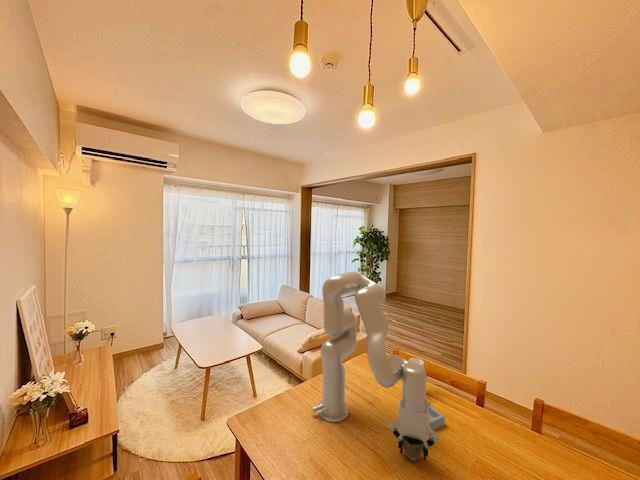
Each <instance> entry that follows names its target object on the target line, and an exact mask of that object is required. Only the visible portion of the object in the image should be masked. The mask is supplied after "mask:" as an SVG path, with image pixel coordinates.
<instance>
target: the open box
mask: <svg viewBox="0 0 640 480" xmlns="http://www.w3.org/2000/svg"><path fill="white" fill-rule="evenodd" d="M428 412H429V426H430V427H431V429H432V430H433V431H435V430H437V429H441V428H442V427H444V426H445V418H446V417H445V416H444V414H442V413H441V412H439V411H438V410H437V409H435V408H434V407H432V405H430V406H428Z"/></svg>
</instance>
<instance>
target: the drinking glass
mask: <svg viewBox="0 0 640 480" xmlns="http://www.w3.org/2000/svg"><path fill="white" fill-rule="evenodd" d="M408 361H410V362H411V363H417V364H419V365H421V366H423V367H424V368H425V362H424V361H423V360H422V359H420V358H418V357H417V358H415V357H413V358H412V357H411V358H409V360H408Z"/></svg>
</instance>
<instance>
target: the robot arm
mask: <svg viewBox="0 0 640 480" xmlns="http://www.w3.org/2000/svg"><path fill="white" fill-rule="evenodd" d="M321 290H322V291H321V292H322V299H323V330H324V332H325V334H326V335H327V336H329V337H331V338H328V339H326V340H325V341H324V342H323V343H322V345H321V347H320V356H321V362H322V363H321V364H322V399H321V400H320V402H319V404H318V405H315V406H311V412H312V413H316V414H317V415H319V416H320V417H321V418H322V419H323V420H324V421H327V422H328V423H339V422H343V421H344V420H345V419H347V417H348V416H349V407H348V406H347V405H346V369H345V366H344V364H343V361H344V360H345V359H346V358H347V357H348V356H350V355H351V354H352V353H354V351H355V350H356V348H357V319H356V317H355V314H354V312H353V311H351V310H350V309H348V308H344V307H345V306H344V305H345V304H344V300H343V298H342V296H344V295H347V294H348V295H349V294H351V293H355V295H354V301H355V303H356V307H357V310H358V313H359V315H360V317H361V320H362V323H363V325H364V328H365V331H366V357H367V360H368V365H369V367H370V370H371V372H372V375H373V377H374V378H375V380H376V382H377V383H378V384H379V385H380V386H381V387H383V388H387V389H388V388H393V386H395V385H396V384H397V383H398V382H399V381H400V380H402V384H401V385H402V386H401V387H402V389H401V390H402V391H401V393H402V394H401V400H400V401H399V405H398V412H397V413H398V414H397V419H395V420H393V421H391V422H389V424H388V428H389V429H390V431H391V432H392V434H393V436H395V438H396V439H397V442H398V443H397V445H398V446H397V449H399V451H400V452H399V453H400V454H403V451H404V448H403V442H402V438H403V437H404V436H407V437H411V438H415V439H419V440H422V441H423V442H424V448H423V453H422V457H423V458H422V459H423V461H424V462H425V461H426V458H427V457H429V449H430V448H431V447H432V446H434V445H435V444H436V443H437V442H438V441H439V440H440V438H439V437H440V436H439V435H438V434H437V433H436V431H435V430H432V429H431V427H430V426H429V412H428V406H431V401H428V400H427V371H426V370H427V369H425V366H424V367H423V366H421V365H419V364H417V363H411V362H410V361H409V360H408V359H406V358H405V357H403V356H401V355H398V354H391V355H390V356H388V357H387V355H386V347H385V345H386V344H385V343H386V339H387V336H388V332H389V329H390V327H389V323H388V320H387V318H386V315H385V312H384V310H383V308H382V304H384V303H385V302H386V298H387V296H386V295H387V294H386V291H385V290H384V288H383V287H382V286H381V285H379V284H378V283H377V282H375V281H373V280H371V279H370V278H369V277H366V276H365V275H363V274H361V273H359V272H356V271H351V272H346V273H345V272H344V273H340V274H334V275H332V276H330V277H327V279H326V280H325V281H324V282H323V284H322V289H321ZM396 427H397V428H396Z"/></svg>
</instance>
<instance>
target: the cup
mask: <svg viewBox="0 0 640 480" xmlns="http://www.w3.org/2000/svg"><path fill="white" fill-rule="evenodd" d="M402 442H403V451H404V453H405V455H406V456H407V459H408V460H409V461H410V462H413V463H416V462H418V460H419V458H420V457H422V456H423V448H424V442H423V441H422V440H419V439H415V438H411V437H407V436H404V437H403V438H402Z"/></svg>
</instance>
